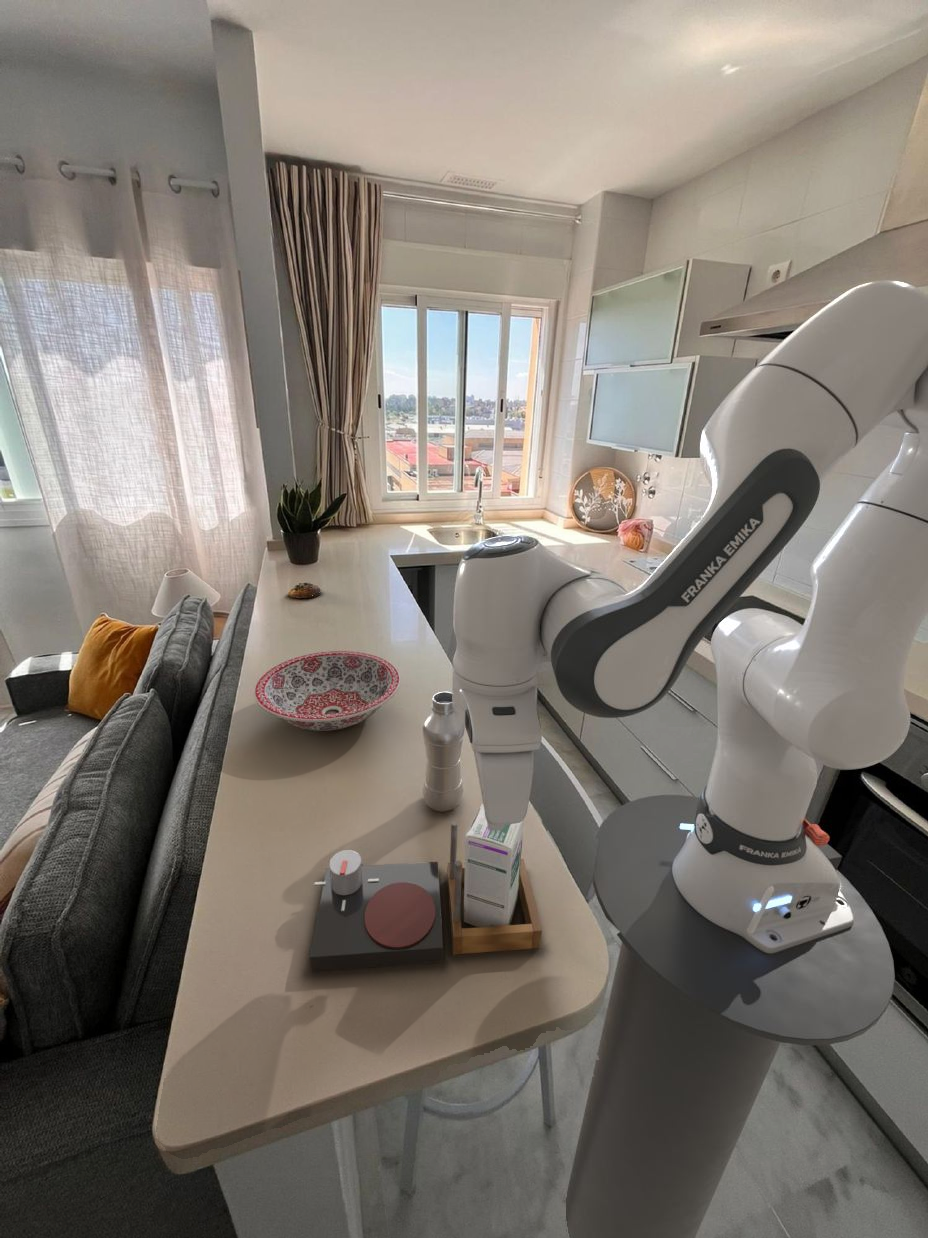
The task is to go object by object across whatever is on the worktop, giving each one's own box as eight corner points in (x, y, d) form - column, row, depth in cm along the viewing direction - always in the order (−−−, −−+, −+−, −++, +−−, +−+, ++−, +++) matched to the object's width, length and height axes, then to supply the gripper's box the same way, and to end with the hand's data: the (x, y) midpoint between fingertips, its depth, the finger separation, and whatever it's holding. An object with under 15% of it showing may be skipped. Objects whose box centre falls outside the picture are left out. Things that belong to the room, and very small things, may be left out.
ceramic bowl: (279, 681, 117) (275, 651, 115) (402, 679, 120) (402, 650, 117) (238, 758, 91) (232, 721, 88) (398, 754, 93) (398, 718, 90)
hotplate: (433, 881, 65) (433, 880, 65) (437, 946, 57) (437, 944, 57) (367, 885, 64) (367, 884, 64) (361, 951, 56) (361, 950, 56)
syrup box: (506, 939, 60) (514, 849, 55) (461, 922, 62) (465, 834, 57) (517, 900, 65) (526, 814, 60) (475, 886, 67) (480, 801, 62)
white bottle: (470, 806, 81) (475, 701, 74) (435, 823, 78) (436, 714, 70) (449, 784, 86) (452, 683, 79) (415, 798, 82) (414, 694, 75)
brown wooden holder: (521, 874, 69) (528, 807, 65) (539, 948, 60) (549, 874, 55) (447, 879, 68) (449, 810, 64) (453, 955, 58) (455, 880, 54)
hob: (437, 865, 70) (437, 851, 69) (442, 962, 58) (443, 946, 57) (321, 872, 69) (319, 857, 68) (301, 973, 56) (298, 957, 55)
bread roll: (321, 597, 173) (318, 584, 171) (288, 603, 170) (285, 590, 168) (321, 589, 183) (318, 576, 181) (290, 594, 180) (287, 581, 179)
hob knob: (334, 869, 66) (332, 847, 65) (364, 869, 66) (363, 847, 65) (327, 896, 62) (325, 873, 61) (359, 895, 62) (358, 873, 61)
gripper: (456, 649, 61) (454, 742, 67) (475, 750, 43) (471, 869, 48) (506, 648, 62) (501, 740, 67) (547, 746, 43) (535, 865, 48)
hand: (489, 794), depth 57 cm, fingers open, 8 cm apart
